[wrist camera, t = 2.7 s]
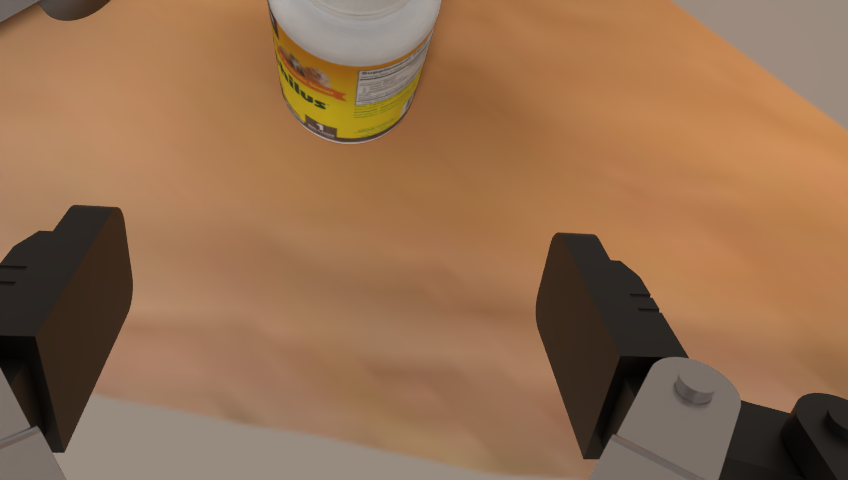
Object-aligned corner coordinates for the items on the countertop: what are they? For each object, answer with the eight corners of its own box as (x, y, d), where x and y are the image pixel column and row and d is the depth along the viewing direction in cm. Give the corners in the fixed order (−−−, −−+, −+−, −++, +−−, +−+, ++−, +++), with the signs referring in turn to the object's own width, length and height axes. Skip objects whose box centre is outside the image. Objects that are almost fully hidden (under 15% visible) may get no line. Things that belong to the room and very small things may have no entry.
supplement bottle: (259, 53, 28) (223, -129, 18) (380, 11, 29) (407, -181, 20) (313, 170, 27) (305, 45, 18) (434, 122, 29) (491, -20, 19)
